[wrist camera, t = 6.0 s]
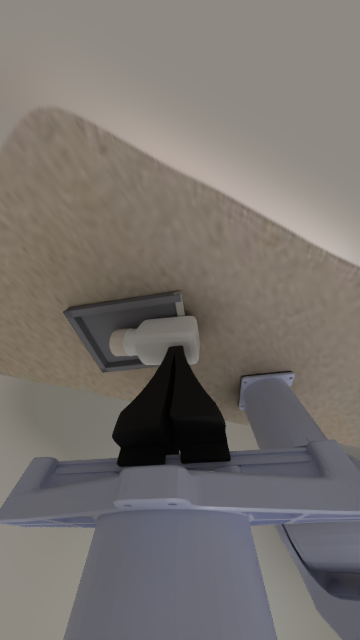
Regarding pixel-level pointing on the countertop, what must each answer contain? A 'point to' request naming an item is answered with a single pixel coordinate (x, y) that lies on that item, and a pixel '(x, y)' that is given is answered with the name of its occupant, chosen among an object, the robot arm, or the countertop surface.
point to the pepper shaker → (158, 339)
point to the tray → (120, 324)
